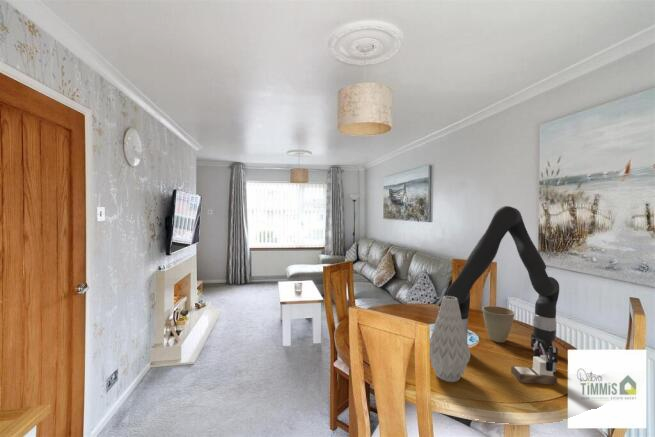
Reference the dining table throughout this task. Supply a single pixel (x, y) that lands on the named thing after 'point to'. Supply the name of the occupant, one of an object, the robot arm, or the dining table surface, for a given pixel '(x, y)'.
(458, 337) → the vase
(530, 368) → the plank
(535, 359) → the cube cream
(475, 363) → the dining table surface
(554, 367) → the cube blue
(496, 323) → the plant pot
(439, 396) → the dining table surface
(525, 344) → the dining table surface
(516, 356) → the dining table surface
